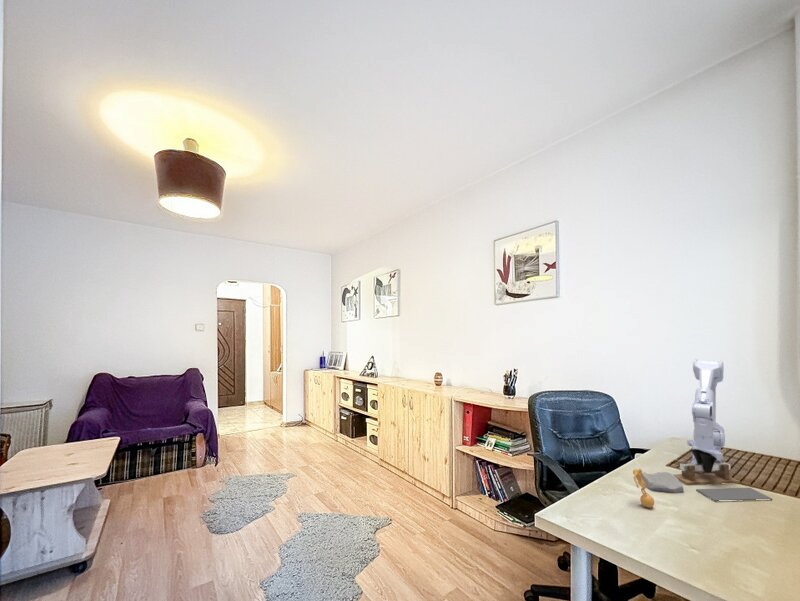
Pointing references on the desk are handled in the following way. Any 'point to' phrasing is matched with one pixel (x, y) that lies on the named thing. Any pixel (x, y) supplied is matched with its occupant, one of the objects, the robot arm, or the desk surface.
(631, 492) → the desk surface
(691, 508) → the desk surface
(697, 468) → the rail
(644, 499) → the figurine
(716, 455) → the robot arm
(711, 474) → the wooden two-post cradle
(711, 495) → the mat
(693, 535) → the desk surface
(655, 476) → the stone block
